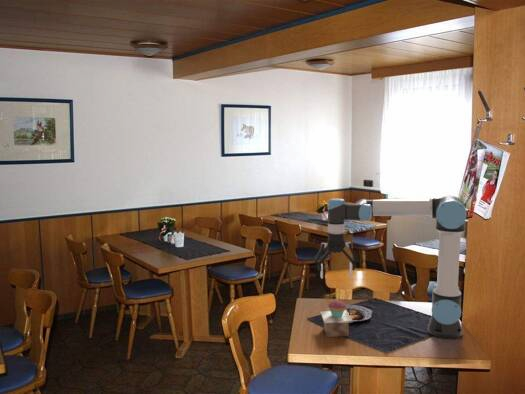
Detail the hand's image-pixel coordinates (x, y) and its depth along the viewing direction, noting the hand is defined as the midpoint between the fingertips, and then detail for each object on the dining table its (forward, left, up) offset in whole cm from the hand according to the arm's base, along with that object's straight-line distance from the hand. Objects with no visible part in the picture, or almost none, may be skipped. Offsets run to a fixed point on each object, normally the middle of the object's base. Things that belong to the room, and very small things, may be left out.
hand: (336, 277), depth 242 cm
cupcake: (-1, 0, -19) cm, 19 cm away
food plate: (-10, -21, -27) cm, 36 cm away
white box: (0, 0, -26) cm, 27 cm away
